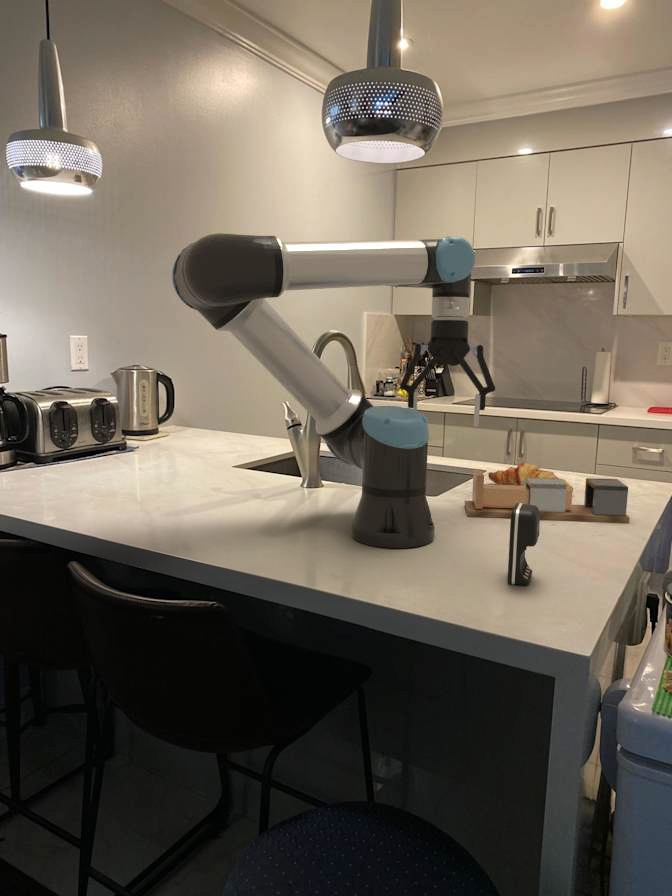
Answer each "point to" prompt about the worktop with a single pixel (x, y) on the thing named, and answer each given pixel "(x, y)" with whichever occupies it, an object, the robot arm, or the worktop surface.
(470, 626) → the worktop surface
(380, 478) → the robot arm
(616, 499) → the grey box
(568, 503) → the wood grain post
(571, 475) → the worktop surface
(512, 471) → the croissant
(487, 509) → the board
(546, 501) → the grey concrete cube
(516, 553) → the battery charger
